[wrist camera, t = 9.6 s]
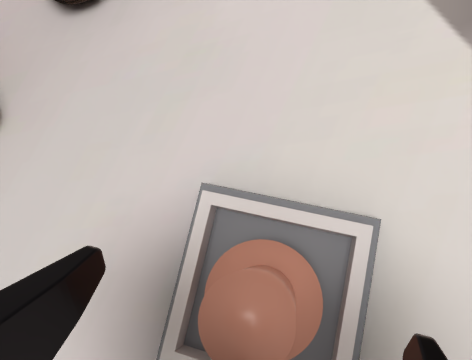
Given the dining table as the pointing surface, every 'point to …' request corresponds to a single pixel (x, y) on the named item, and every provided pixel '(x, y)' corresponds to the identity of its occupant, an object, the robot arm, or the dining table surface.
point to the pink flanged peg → (260, 303)
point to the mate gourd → (71, 1)
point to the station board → (293, 235)
